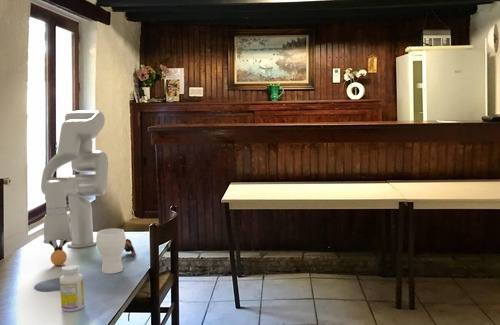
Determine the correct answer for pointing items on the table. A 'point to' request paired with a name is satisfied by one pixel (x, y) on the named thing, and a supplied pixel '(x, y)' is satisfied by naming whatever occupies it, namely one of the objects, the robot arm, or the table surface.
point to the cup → (111, 249)
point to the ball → (58, 257)
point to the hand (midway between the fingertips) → (58, 256)
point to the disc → (48, 285)
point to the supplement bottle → (71, 289)
